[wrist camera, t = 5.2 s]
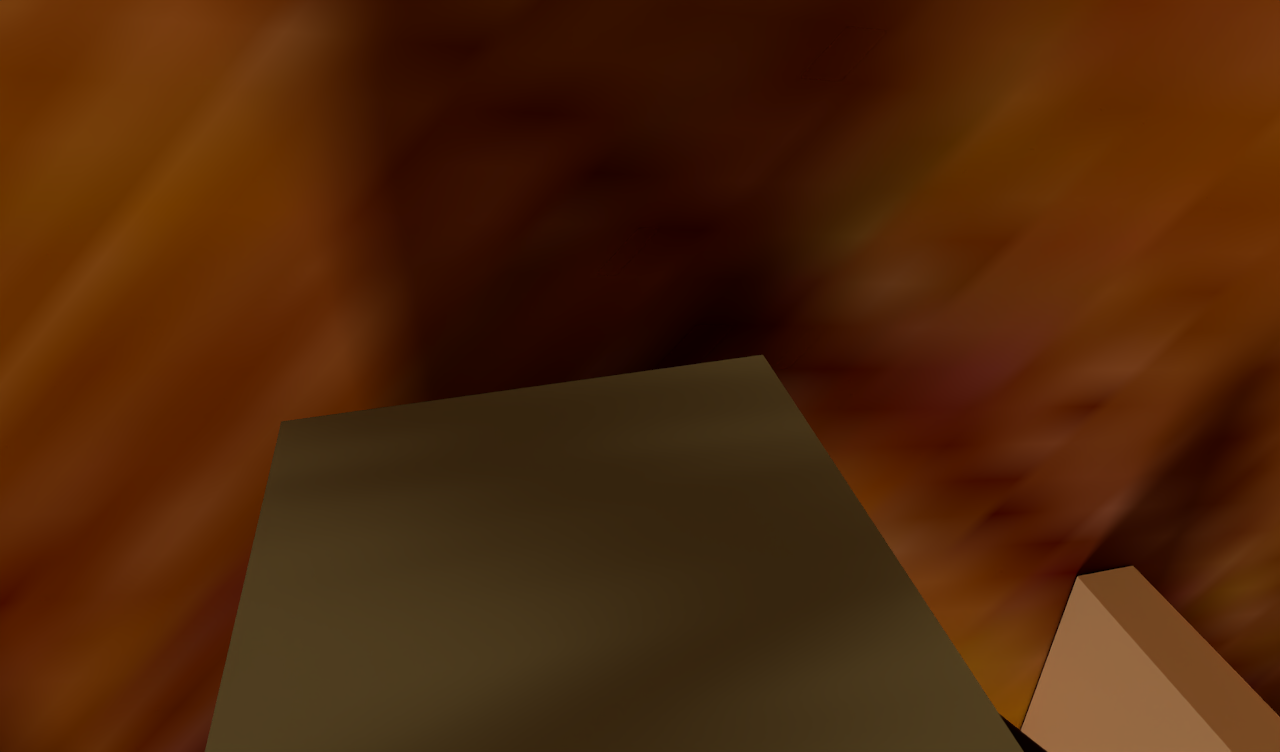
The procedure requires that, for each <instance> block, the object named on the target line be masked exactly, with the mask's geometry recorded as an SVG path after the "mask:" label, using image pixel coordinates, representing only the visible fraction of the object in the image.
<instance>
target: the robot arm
mask: <svg viewBox="0 0 1280 752" xmlns="http://www.w3.org/2000/svg"><path fill="white" fill-rule="evenodd" d="M999 715H1000V714H999ZM1000 716H1001V715H1000ZM1001 718H1002V720H1003V721H1004V723H1005V724H1006V726H1007V727H1008V729H1009V730H1010V732H1011V733H1012V735H1013V736H1014V738H1015V739H1016V741H1017V742H1018V744H1019V745H1020V747H1021V748H1022V750H1023V752H1047V751H1046V750H1045V749H1043V748H1042V747H1041V746H1040V745H1038V744H1037V743H1036V742H1034V741H1033V740H1032V739H1031V738H1029V737H1028V736H1027V735H1026V734H1024V733H1023V732H1022V731H1020V730H1019V729H1018V728H1017V727H1015V726H1014V725H1013V724H1011V723H1010V722H1009V721H1008V720H1006V719H1005V718H1004V717H1003V716H1001Z"/></svg>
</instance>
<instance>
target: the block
mask: <svg viewBox="0 0 1280 752" xmlns="http://www.w3.org/2000/svg"><path fill="white" fill-rule="evenodd" d="M205 752H1023V750H1022V748H1021V747H1020V745H1019V744H1018V742H1017V741H1016V739H1015V738H1014V736H1013V735H1012V733H1011V732H1010V730H1009V729H1008V727H1007V726H1006V724H1005V723H1004V721H1003V720H1002V718H1001V716H1000V715H999V713H998V712H997V710H996V709H995V707H994V706H993V704H992V703H991V701H990V700H989V698H988V697H987V695H986V694H985V692H984V691H983V689H982V688H981V686H980V685H979V683H978V681H977V680H976V678H975V677H974V675H973V674H972V672H971V671H970V669H969V668H968V666H967V665H966V663H965V662H964V660H963V659H962V657H961V656H960V654H959V653H958V651H957V649H956V648H955V646H954V645H953V643H952V642H951V640H950V639H949V637H948V636H947V634H946V633H945V631H944V630H943V628H942V627H941V625H940V624H939V622H938V621H937V619H936V618H935V616H934V614H933V613H932V611H931V610H930V608H929V607H928V605H927V604H926V602H925V601H924V599H923V598H922V596H921V595H920V593H919V592H918V590H917V589H916V587H915V586H914V584H913V583H912V581H911V579H910V578H909V576H908V575H907V573H906V572H905V570H904V569H903V567H902V566H901V564H900V563H899V561H898V560H897V558H896V557H895V555H894V554H893V552H892V551H891V549H890V547H889V546H888V544H887V543H886V541H885V540H884V538H883V537H882V535H881V534H880V532H879V531H878V529H877V528H876V526H875V525H874V523H873V522H872V520H871V519H870V517H869V516H868V514H867V512H866V511H865V509H864V508H863V506H862V505H861V503H860V502H859V500H858V499H857V497H856V496H855V494H854V493H853V491H852V490H851V488H850V487H849V485H848V484H847V482H846V480H845V479H844V477H843V476H842V474H841V473H840V471H839V470H838V468H837V467H836V465H835V464H834V462H833V461H832V459H831V458H830V456H829V455H828V453H827V452H826V450H825V449H824V447H823V445H822V444H821V442H820V441H819V439H818V438H817V436H816V435H815V433H814V432H813V430H812V429H811V427H810V426H809V424H808V423H807V421H806V420H805V418H804V417H803V415H802V413H801V412H800V410H799V409H798V407H797V406H796V404H795V403H794V401H793V400H792V398H791V397H790V395H789V394H788V392H787V391H786V389H785V388H784V386H783V385H782V383H781V382H780V380H779V378H778V377H777V375H776V374H775V372H774V371H773V369H772V368H771V366H770V365H769V363H768V362H767V360H766V359H765V357H764V356H763V355H757V356H750V357H743V358H735V359H728V360H721V361H714V362H707V363H699V364H692V365H685V366H678V367H671V368H663V369H656V370H649V371H642V372H635V373H628V374H620V375H613V376H606V377H599V378H592V379H584V380H577V381H570V382H563V383H556V384H548V385H541V386H534V387H527V388H520V389H513V390H505V391H498V392H491V393H484V394H477V395H469V396H462V397H455V398H448V399H441V400H434V401H426V402H419V403H412V404H405V405H398V406H390V407H383V408H376V409H369V410H362V411H354V412H347V413H340V414H333V415H326V416H319V417H311V418H304V419H297V420H290V421H283V422H281V426H280V430H279V434H278V439H277V443H276V447H275V452H274V456H273V460H272V465H271V469H270V473H269V478H268V482H267V486H266V491H265V495H264V499H263V503H262V508H261V512H260V516H259V521H258V525H257V529H256V534H255V538H254V542H253V547H252V551H251V555H250V560H249V564H248V568H247V573H246V577H245V581H244V586H243V590H242V594H241V598H240V603H239V607H238V611H237V616H236V620H235V624H234V629H233V633H232V637H231V642H230V646H229V650H228V655H227V659H226V663H225V668H224V672H223V676H222V681H221V685H220V689H219V694H218V698H217V702H216V706H215V711H214V715H213V719H212V724H211V728H210V732H209V737H208V741H207V745H206V750H205Z"/></svg>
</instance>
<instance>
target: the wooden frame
mask: <svg viewBox="0 0 1280 752" xmlns="http://www.w3.org/2000/svg"><path fill="white" fill-rule="evenodd" d="M1021 731H1022V732H1023V733H1024V734H1026V735H1027V736H1028V737H1029V738H1031V739H1032V740H1033V741H1034V742H1036V743H1037V744H1038V745H1040V746H1041V747H1042V748H1043V749H1045V750H1046V751H1047V752H1280V717H1279V716H1278V715H1277V714H1276V713H1275V711H1274V710H1273V709H1272V708H1271V707H1270V706H1269V705H1268V704H1267V703H1266V702H1265V701H1264V700H1263V699H1262V698H1261V697H1260V696H1259V695H1258V694H1257V693H1256V692H1255V691H1254V690H1253V689H1252V688H1251V687H1250V686H1249V685H1248V684H1247V683H1246V682H1245V681H1244V680H1243V679H1242V677H1241V676H1240V675H1239V674H1238V673H1237V672H1236V671H1235V670H1234V669H1233V668H1232V667H1231V666H1230V665H1229V664H1228V663H1227V662H1226V661H1225V660H1224V659H1223V658H1222V657H1221V656H1220V655H1219V654H1218V653H1217V652H1216V651H1215V650H1214V649H1213V648H1212V647H1211V646H1210V645H1209V643H1208V642H1207V641H1206V640H1205V639H1204V638H1203V637H1202V636H1201V635H1200V634H1199V633H1198V632H1197V631H1196V630H1195V629H1194V628H1193V627H1192V626H1191V625H1190V624H1189V623H1188V622H1187V621H1186V620H1185V619H1184V618H1183V617H1182V616H1181V615H1180V614H1179V613H1178V612H1177V611H1176V609H1175V608H1174V607H1173V606H1172V605H1171V604H1170V603H1169V602H1168V601H1167V600H1166V599H1165V598H1164V597H1163V596H1162V595H1161V594H1160V593H1159V592H1158V591H1157V590H1156V589H1155V588H1154V587H1153V586H1152V585H1151V584H1150V583H1149V582H1148V581H1147V580H1146V579H1145V578H1144V576H1143V575H1142V574H1141V573H1140V572H1139V571H1138V570H1137V569H1136V568H1135V567H1134V566H1128V567H1123V568H1118V569H1112V570H1107V571H1102V572H1097V573H1091V574H1086V575H1081V576H1077V578H1076V581H1075V584H1074V586H1073V589H1072V592H1071V595H1070V597H1069V600H1068V603H1067V606H1066V608H1065V611H1064V614H1063V617H1062V619H1061V622H1060V625H1059V627H1058V630H1057V633H1056V636H1055V638H1054V641H1053V644H1052V647H1051V649H1050V652H1049V655H1048V657H1047V660H1046V663H1045V666H1044V668H1043V671H1042V674H1041V677H1040V679H1039V682H1038V685H1037V688H1036V690H1035V693H1034V696H1033V698H1032V701H1031V704H1030V707H1029V709H1028V712H1027V715H1026V718H1025V720H1024V723H1023V726H1022V728H1021Z"/></svg>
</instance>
